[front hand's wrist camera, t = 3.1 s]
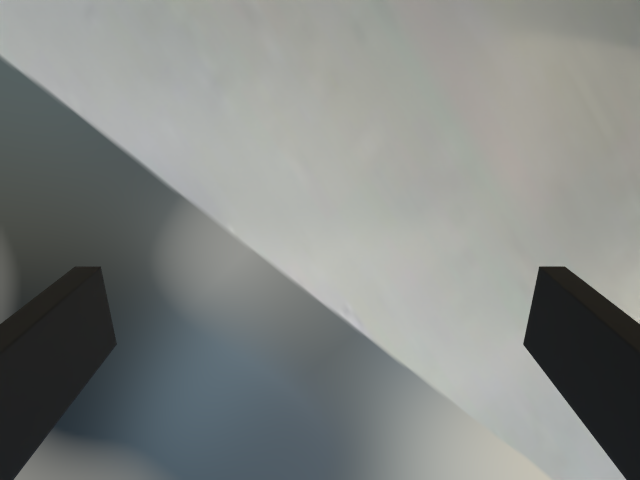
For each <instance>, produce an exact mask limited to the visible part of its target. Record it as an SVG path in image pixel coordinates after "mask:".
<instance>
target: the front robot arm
mask: <svg viewBox="0 0 640 480" xmlns="http://www.w3.org/2000/svg"><path fill="white" fill-rule="evenodd" d="M116 344H117V343H116V339H115V334H114V329H113V324H112V319H111V314H110V310H109V305H108V300H107V295H106V290H105V285H104V280H103V276H102V271H101V267H74V268H73V269H71V270H70V271H69V272H67V273H66V274H65V275H64V276H62V277H61V278H60V279H58V280H57V281H56V282H54V283H53V284H52V285H51V286H49V287H48V288H47V289H45V290H44V291H43V292H42V293H40V294H39V295H38V296H36V297H35V298H34V299H32V300H31V301H30V302H29V303H27V304H26V305H25V306H23V307H22V308H21V309H19V310H18V311H17V312H16V313H14V314H13V315H12V316H10V317H9V318H8V319H7V320H5V321H4V322H3V323H1V324H0V480H14V478H15V477H16V476H17V474H18V473H19V472H20V470H21V469H22V468H23V466H24V465H25V464H26V463H27V461H28V460H29V459H30V457H31V456H32V455H33V453H34V452H35V451H36V449H37V448H38V447H39V446H40V444H41V443H42V442H43V440H44V439H45V438H46V436H47V435H48V434H49V432H50V431H51V430H52V429H53V427H54V426H55V425H56V423H57V422H58V421H59V419H60V418H61V417H62V415H63V414H64V413H65V411H66V410H67V409H68V407H69V406H70V405H71V404H72V402H73V401H74V400H75V398H76V397H77V396H78V394H79V393H80V392H81V390H82V389H83V388H84V387H85V385H86V384H87V383H88V381H89V380H90V379H91V377H92V376H93V375H94V373H95V372H96V371H97V370H98V368H99V367H100V366H101V364H102V363H103V362H104V360H105V359H106V358H107V356H108V355H109V354H110V353H111V351H112V350H113V349H114V347H115V346H116ZM523 345H524V346H525V347H526V349H527V350H528V351H529V353H530V354H531V355H532V356H533V358H534V359H535V360H536V362H537V363H538V364H539V366H540V367H541V368H542V370H543V371H544V372H545V373H546V375H547V376H548V377H549V379H550V380H551V381H552V383H553V384H554V385H555V387H556V388H557V389H558V391H559V392H560V393H561V394H562V396H563V397H564V398H565V400H566V401H567V402H568V404H569V405H570V406H571V408H572V409H573V410H574V411H575V413H576V414H577V415H578V417H579V418H580V419H581V421H582V422H583V423H584V425H585V426H586V427H587V429H588V430H589V431H590V432H591V434H592V435H593V436H594V438H595V439H596V440H597V442H598V443H599V444H600V446H601V447H602V448H603V450H604V451H605V452H606V453H607V455H608V456H609V457H610V459H611V460H612V461H613V463H614V464H615V465H616V467H617V468H618V469H619V470H620V472H621V473H622V474H623V476H624V477H625V478H626V480H640V324H639V323H637V322H636V321H635V320H634V319H632V318H631V317H630V316H628V315H627V314H626V313H624V312H623V311H622V310H621V309H619V308H618V307H617V306H615V305H614V304H613V303H611V302H610V301H609V300H608V299H606V298H605V297H604V296H602V295H601V294H600V293H598V292H597V291H596V290H595V289H593V288H592V287H591V286H589V285H588V284H587V283H586V282H584V281H583V280H582V279H580V278H579V277H578V276H576V275H575V274H574V273H573V272H571V271H570V270H569V269H567V268H566V267H539V271H538V276H537V280H536V285H535V290H534V295H533V300H532V305H531V310H530V314H529V319H528V324H527V329H526V334H525V339H524V343H523Z"/></svg>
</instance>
